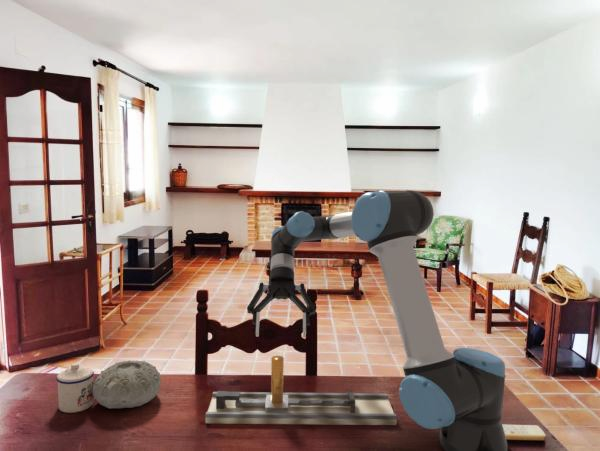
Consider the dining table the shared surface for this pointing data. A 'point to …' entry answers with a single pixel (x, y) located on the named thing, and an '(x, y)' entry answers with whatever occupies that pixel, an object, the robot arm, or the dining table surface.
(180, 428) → the dining table surface
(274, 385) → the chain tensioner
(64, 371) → the teacup with lid
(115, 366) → the grey rounded lump
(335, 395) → the rail
